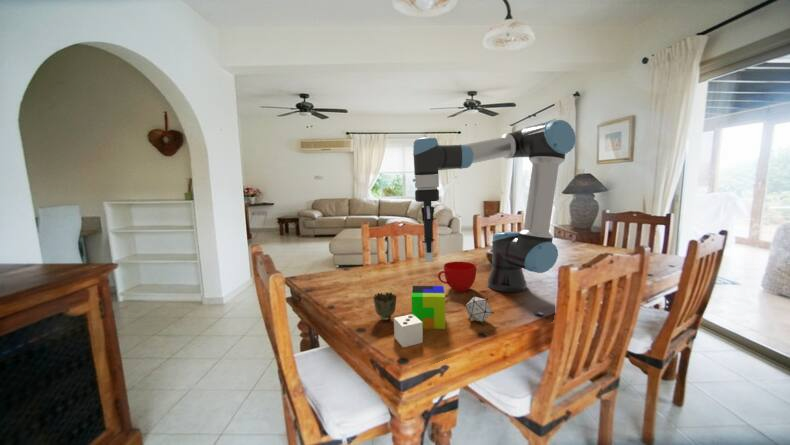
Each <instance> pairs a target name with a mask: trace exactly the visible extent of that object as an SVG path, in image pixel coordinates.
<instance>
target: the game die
mask: <svg viewBox="0 0 790 445" xmlns="http://www.w3.org/2000/svg"><path fill="white" fill-rule="evenodd" d="M472 295H473V297H472V298H471V299H469V301H468V302H467V303H466V304H462V307H465V309H466V312H467V315H468V321H470V320H473V321H477V322H479V323H481V325H483V326H484V321H486V319H487V318H488V317H489V316H490V315H491V314H495V312H494V311H492V309H491V307H490V305H489V302H488V301H489V297H486V298H481V297H478V296H476V295H475V293H473V294H472Z"/></svg>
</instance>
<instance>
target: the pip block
mask: <svg viewBox="0 0 790 445" xmlns="http://www.w3.org/2000/svg"><path fill="white" fill-rule="evenodd" d="M393 329H394V330H393V331H394V334H393V337H394V339H395V340H396V341H397V342H398V344H400V346H401V347H402V348H407V347H411V346H415V345H417V344H422V343H424V341H423V339H424V337H423V336H424V335H423V333H424V332H423V331H424V329H423V328H422V321H420V320H419V319H418V318H417V317H416V316H415V315H413V314H412V313H409V314H406V315H402V316H396V317H393Z"/></svg>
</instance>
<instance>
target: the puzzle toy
mask: <svg viewBox="0 0 790 445" xmlns="http://www.w3.org/2000/svg"><path fill="white" fill-rule="evenodd" d="M411 314H413V315H415V316H416V317H417V318H418V319H419V320H420V321H422V329H437V330H438V329H441V330H442V329H444V330H445V329H446V295H445V289H444V285H413V286H412V291H411Z"/></svg>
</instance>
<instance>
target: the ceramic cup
mask: <svg viewBox="0 0 790 445" xmlns="http://www.w3.org/2000/svg"><path fill="white" fill-rule="evenodd" d="M442 274H444V279H445V281H444V280H442V278H441V275H442ZM476 275H477V265H476V264H475V263H471V262H468V261H449V262H446V263H444V264H443V270H441V271H439V272H438V274H437V278H438V280H439V282H441V283H443V284H444V285H445V284H446V285H448V286H449V287H450V288H451V290H452V291H453V292H458V293H462V292H463V293H465V292H467V291H469V289H470V288H471V287H472V286H473V285H474V283H475V281H476Z"/></svg>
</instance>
